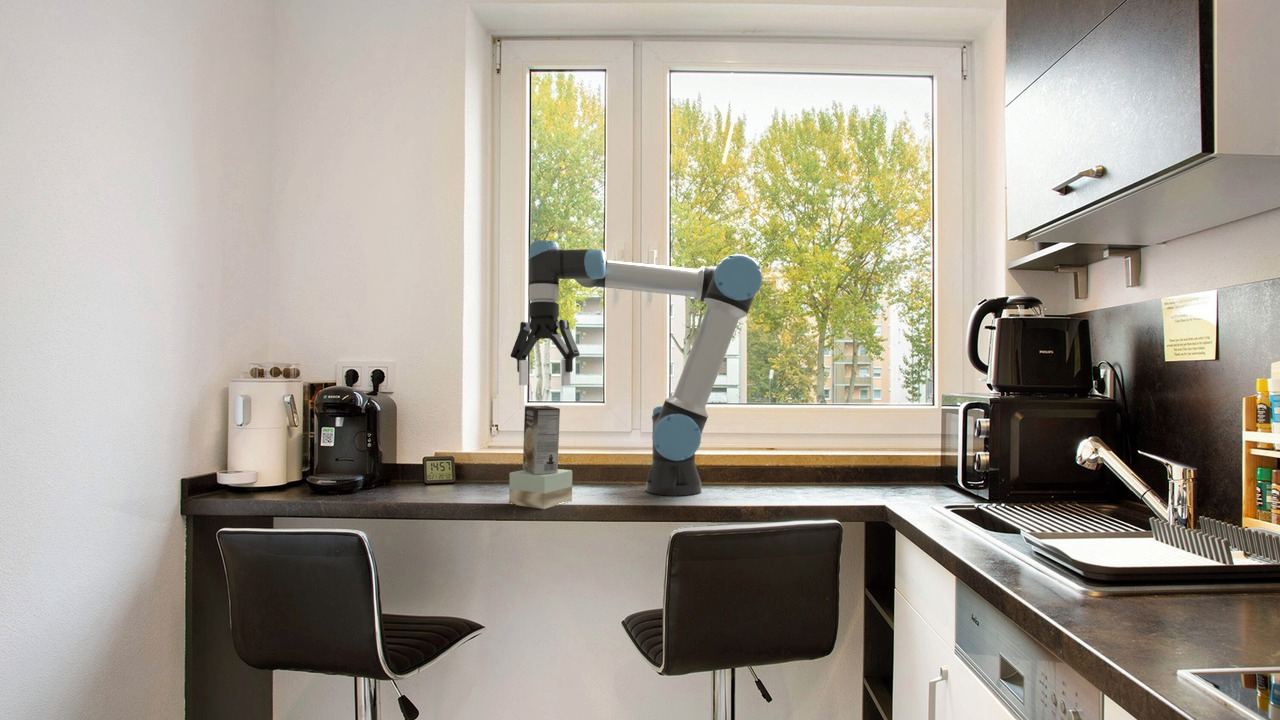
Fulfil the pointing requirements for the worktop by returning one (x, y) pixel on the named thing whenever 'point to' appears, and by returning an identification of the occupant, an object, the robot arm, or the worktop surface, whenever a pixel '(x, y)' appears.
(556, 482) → the slab top
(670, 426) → the robot arm
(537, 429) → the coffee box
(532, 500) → the slab bottom
